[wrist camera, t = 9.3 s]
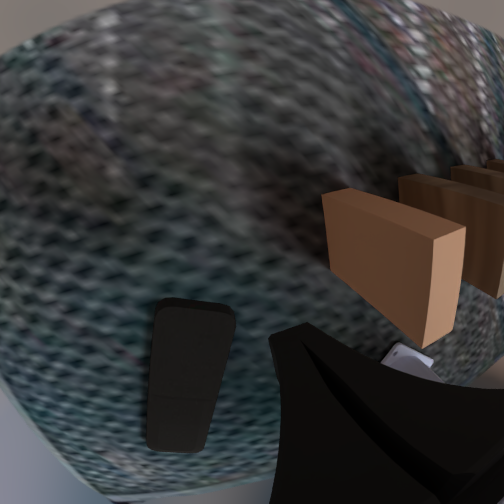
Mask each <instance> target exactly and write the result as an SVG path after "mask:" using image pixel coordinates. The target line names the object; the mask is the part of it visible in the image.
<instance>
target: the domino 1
mask: <svg viewBox="0 0 504 504" xmlns="http://www.w3.org/2000/svg"><path fill="white" fill-rule="evenodd" d="M321 196H322V203H323V211H324V218H325V226H326V234H327V243H328V252H329V261H330V270H331V271H332V272H333V273H334V274H335V275H337V276H338V277H339V278H340V279H341V280H343V281H344V282H345V283H346V284H347V285H349V286H350V287H351V288H352V289H353V290H355V291H356V292H357V293H358V294H359V295H360V296H362V297H363V298H364V299H365V300H366V301H368V302H369V303H370V304H371V305H372V306H373V307H375V308H376V309H377V310H378V311H379V312H380V313H382V314H383V315H384V316H385V317H386V318H387V319H388V320H390V321H391V322H392V323H393V324H394V325H395V326H396V327H398V328H399V329H400V330H401V331H402V332H403V333H404V334H406V335H407V336H408V337H409V338H410V339H411V340H412V341H414V342H415V343H416V344H417V345H418V346H419V347H420V348H421V349H423V348H424V347H426V346H428V345H429V344H431V343H433V342H434V341H436V340H438V339H439V338H441V337H443V336H444V335H446V334H447V333H449V332H450V331H452V329H453V324H454V319H455V314H456V308H457V303H458V297H459V290H460V283H461V276H462V268H463V258H464V247H465V233H466V227H465V226H463V225H460V224H458V223H455V222H452V221H450V220H447V219H444V218H442V217H439V216H436V215H433V214H430V213H428V212H425V211H422V210H419V209H416V208H413V207H410V206H407V205H404V204H401V203H398V202H395V201H392V200H389V199H385V198H382V197H379V196H376V195H372V194H369V193H366V192H362V191H359V190H355V189H352V188H347V189H343V190H338V191H334V192H330V193H325V194H321Z"/></svg>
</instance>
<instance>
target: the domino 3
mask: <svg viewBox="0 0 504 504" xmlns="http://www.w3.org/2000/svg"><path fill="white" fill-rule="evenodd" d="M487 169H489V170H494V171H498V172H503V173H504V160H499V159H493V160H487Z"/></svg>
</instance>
